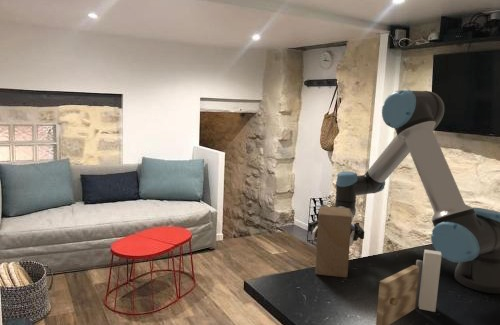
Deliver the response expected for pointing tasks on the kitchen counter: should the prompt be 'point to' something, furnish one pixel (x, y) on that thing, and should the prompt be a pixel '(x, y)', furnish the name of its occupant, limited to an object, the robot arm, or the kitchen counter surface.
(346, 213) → the wooden block
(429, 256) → the wall stub
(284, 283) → the kitchen counter surface
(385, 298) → the gate
